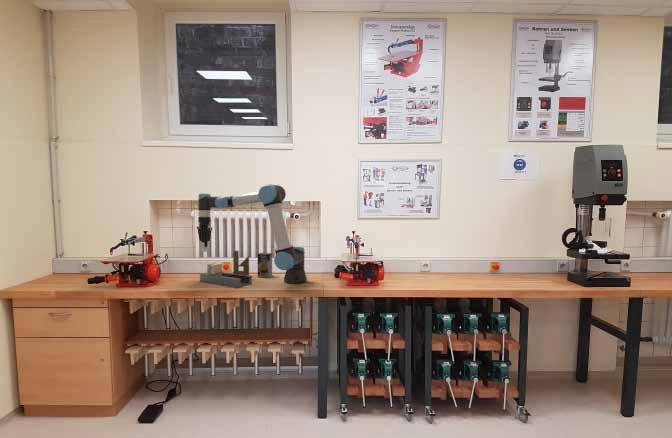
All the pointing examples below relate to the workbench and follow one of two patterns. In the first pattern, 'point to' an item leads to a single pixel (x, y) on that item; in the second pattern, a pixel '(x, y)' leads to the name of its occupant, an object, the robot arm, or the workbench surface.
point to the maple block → (214, 269)
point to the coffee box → (264, 265)
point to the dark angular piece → (236, 264)
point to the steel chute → (227, 279)
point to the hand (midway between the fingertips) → (204, 251)
